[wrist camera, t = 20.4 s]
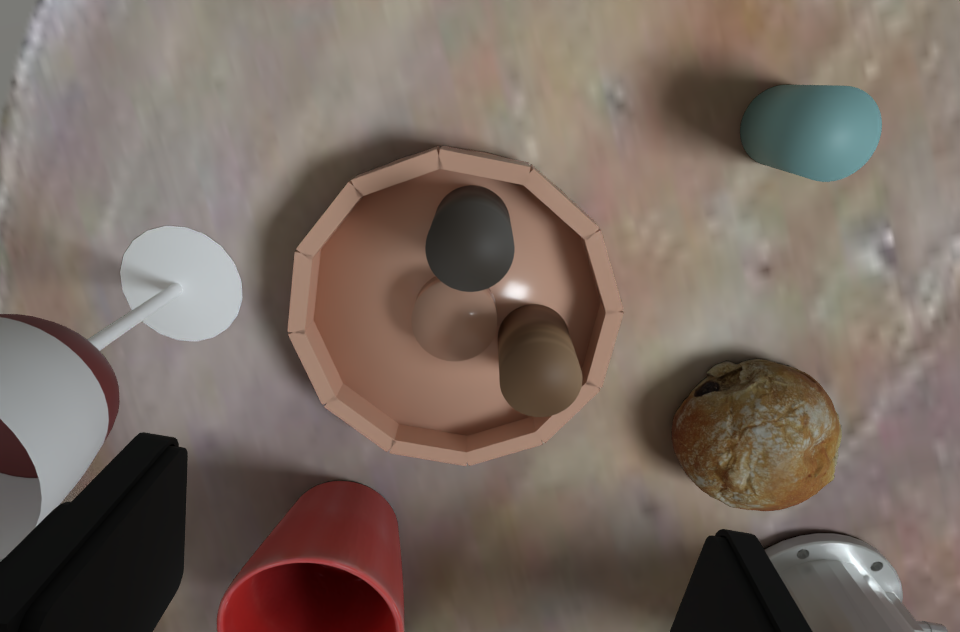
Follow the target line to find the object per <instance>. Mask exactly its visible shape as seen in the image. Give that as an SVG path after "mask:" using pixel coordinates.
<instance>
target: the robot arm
mask: <svg viewBox="0 0 960 632" xmlns="http://www.w3.org/2000/svg"><path fill="white" fill-rule="evenodd" d="M187 457H188V456H187V450H186V449H185V448H181V447H179V444H178V441H177V439H176V438H174V437H168V436H162V435H156V434H150V433H144V432H143V433H139V434H138V435H137V436H136V437H135V438H134V439H133V440H132V441H131V442H130V443H129V444H128V445H127V446H126V447H125V448H124V449H123V450H122V451H121V452H120V453H119V454H118V455H117V456H116V457H115V458H114V459H113V460H112V461H111V462H110V463H109V464H108V465H107V466H106V467H105V468H104V469H103V470H102V471H101V472H100V473H99V474H98V475H97V476H96V477H95V478H94V479H93V480H92V481H91V482H90V483H89V484H88V485H87V487H86V488H85V489H84V490H83V491H82V492H81V493H80V494H79V495H78V496H77V497H76V498H75V499H74V500H73V501H72V502H65V503H62V504H60V505H59V506H57V507H56V508H55V509H54V510H52V511H51V512H50V513H49V514H48V515H47V516H46V517H45V518H44V519H43V520H42V521H41V522H40V523H39V524H38V525H37V526H36V527H35V528H34V529H33V530H32V531H31V532H30V533H29V534H28V535H27V536H26V537H25V538H24V539H23V540H22V541H21V542H20V543H19V544H18V545H17V546H16V547H15V548H14V549H13V550H12V551H11V552H10V553H9V554H8V555H7V556H6V557H5V558H4V559H3V560H2V561H1V562H0V632H153V630H154V628H155V627H156V625H157V623H158V622H159V620H160V618H161V617H162V615H163V613H164V612H165V610H166V608H167V607H168V605H169V603H170V602H171V600H172V598H173V597H174V595H175V594H176V592H177V590H178V588H179V585H180V582H181V579H182V575H183V569H184V544H185V515H186V486H187ZM902 599H903V592H902V586H901V581H900V579H899V577H898V575H897V572H896V571H895V569H894V568H893V567H892V565H891V564H890V563H889V562H888V560H887V559H886V558H885V557H884V556H883V555H882V554H881V553H880V552H879V551H878V550H877V549H876V548H874V547H872V546H871V545H869V544H868V543H866V542H864V541H862V540H859V539H856V538H853V537H851V536H846V535H840V534H834V533H816V534H809V535H802V536H798V537H794V538H791V539H787V540H784V541H781V542H779V543H777V544H775V545H773V546H771V547H769V548H767V549H765V550H764V549H763V547H762V545H761V543H760V542H759V540H758V539H757V538H756V536H755V535H753V534H749V533H743V532H737V531H731V530H725V529H722V530H719V531H718V532H717V533H716V535H715V536H709V537H708V538H707V539H706V541H705V543H704V545H703V548H702V551H701V553H700V556H699V558H698V561H697V563H696V566H695V569H694V571H693V574H692V576H691V579H690V581H689V584H688V586H687V589H686V592H685V594H684V597H683V599H682V602H681V604H680V607H679V610H678V612H677V615H676V617H675V620H674V622H673V625H672V627H671V630H670V632H948V631H947V629H946V627H945V626H944V625H942V624H938V623H932V622H926V621H921V622H920V621H916V620H915V619H914V617H913V616H912V615H911V614H910V612H909V611H908V610H907V609H906V607H905V606H904V605H903V604H902Z"/></svg>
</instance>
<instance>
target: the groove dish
mask: <svg viewBox="0 0 960 632" xmlns="http://www.w3.org/2000/svg"><path fill="white" fill-rule="evenodd" d="M468 185H476V186H482V187H485V188H487V189H490V190H491V191H493V192H494V193H496V194H497V195H498V196H499V197H500V198H501V199H502V200H503V202H504V203H505V205H506V207H507V209H508V212H509V216H510V222H511V227H512V233H513V239H514V246H515V252H514V258H513V262H512V265H511V267H510V269H509V271H508V272H507V274H506V275H505V276H504V277H503V278H502V279H501V280H500V281H499V282H498V283H497V284H495V285H494V286H492V287H490V288H487V289H485V290H481V291H476V292H465V291H459V290H456V289H453V288H451V287H449V286H447V285H445V284H444V283H443V282H441V281H440V280H439V279H438V278H437V277H436V276H435V275H434V273H433V272H432V270H431V269H430V266H429V264H428V261H427V258H426V252H425V245H426V238H427V235H428V232H429V229H430V227H431V224H432V221H433V219H434V216H435V213H436V210H437V208H438V206H439V204H440V202H441V201H442V200H443V198H444V197H445V196H446V195H447V194H449V193H450V192H451V191H453V190H455V189H457V188H459V187H463V186H468ZM296 249H297V250H296V251H295V255H294V265H293V276H292V287H291V298H290V309H289V320H288V331H287V332H290V333H289V334H288V336H289V338H290V340H291V342H292V344H293V346H294V348H295V350H296V352H297V354H298V356H299V358H300V360H301V362H302V364H303V366H304V368H305V370H306V373H307V375H308V377H309V379H310V381H311V383H312V385H313V387H314V389H315V391H316V393H317V395H318V397H319V399H320V401H321V403H322V405H323V404H325V406H324V407H325V408H326V409H328V410H329V411H331V412H332V413H333V414H335V415H336V416H337V417H339V418H340V419H342V420H343V421H344V422H346V423H347V424H349V425H350V426H351V427H353V428H354V429H356V430H357V431H358V432H360V433H361V434H362V435H364V436H365V437H367V438H368V439H369V440H371V441H372V442H374V443H375V444H376V445H378V446H379V447H381V448H382V449H383V450H385V451H386V452H388V451H389V450H390V453H391V454H397V455H403V456H409V457H415V458H421V459H427V460H432V461H438V462H444V463H450V464H456V465H462V466H466V464H467V462H468V465H469V466H471V465H474V464H478V463H481V462H484V461H488V460H491V459H495V458H498V457H502V456H505V455H508V454H512V453H515V452H519V451H522V450H526V449H529V448H532V447H536V446H539V445H543V443H542V441H543V442H545V443H546V442H547V441H548V440H549V439H550V438H551V437H552V436H553V435H554V434H555V433H556V432H557V431H558V430H559V429H560V428H562V427H563V426H564V425H565V424H566V423H567V422H568V421H569V420H570V419H571V418H572V417H573V416H574V415H575V414H576V413H577V412H578V411H579V410H580V409H581V408H582V407H583V406H585V405H586V404H587V403H588V402H589V401H590V400H591V399H592V398H593V397H594V396H595V395H596V394H597V393H598V392H599V391H600V387H601V388H602V386H603V383H604V379H605V376H606V372H607V369H608V365H609V362H610V359H611V355H612V352H613V348H614V345H615V341H616V338H617V334H618V331H619V327H620V324H621V321H622V317H623V314H624V313H623V311H622V310H624V309H623V306H622V302H621V299H620V295H619V292H618V288H617V285H616V281H615V278H614V274H613V271H612V267H611V264H610V260H609V257H608V253H607V250H606V246H605V242H604V239H603V235H602V232H601V230H600V229H599V227H598V225H597V224H596V223H595V222H594V220H593V219H591V218H590V217H589V216H588V215H587V214H586V213H585V212H584V211H583V210H582V209H580V208H579V207H578V206H577V205H576V204H575V203H574V202H573V201H572V200H570V199H569V198H568V197H567V196H566V194H565V193H564V192H563V191H562V190H561V189H559V188H558V187H557V186H556V185H554V184H553V183H552V182H551V181H550V180H548V179H547V178H546V177H545V176H544V175H543V174H542V173H541V172H540V171H538V170H537V169H536V168H535V167H534V166H533V165H532V164H531V165H529V163H528V162H523V161H518V160H513V159H508V158H506V157H502V156H498V155H495V154H491V153H487V152H481V151H473V150H466V149H458V148H453V147H448V146H443V145H442V147H441V148H440V147H439V146H437V147H434V148H431V149H428V150H426V151H423V152H420V153H417V154H414V155H410V156H407V157H403V158H400V159H398V160H396V161H393V162H391V163H389V164H386V165H384V166H381V167H378V168H376V169H373V170H370V171H367V172H365V173H362V174H359V175H357V176H356V177H354V178H353V179H352V180H350V181H349V182H348V183H347V184H346V186H345V187H344V188H343V189H342V191H341V192H340V193H339V195H338V196H337V197H336V198H335V200H334V201H333V202H332V204H331V205H330V206H329V207H328V209H327V210H326V211H325V212H324V214H323V215H322V216H321V218H320V219H319V220H318V221H317V223H316V224H315V225H314V227H313V228H312V229H311V230H310V232H309V233H308V234H307V235H306V237H305V238H304V239H303V241H302V242H301V243H300V244H299V246H298V247H297V248H296ZM530 304H539V305H544V306H547V307H549V308H551V309H553V310H555V311H556V312H557V313H558V314H559V315H560V316H561V317H562V318H563V319H564V321H565V323H566V325H567V328H568V331H569V334H570V337H571V340H572V343H573V346H574V350H575V353H576V356H577V359H578V362H579V365H580V368H581V371H582V386H581V390H580V392H579V395H578V396H577V398H576V400H575V401H574V402H573V403H572V404H571V405H570V406H569V407H568V408H567V409H565V410H564V411H562V412H560V413H558V414H555V415H552V416H547V417H532V416H528V415H524V414H522V413H520V412H518V411H516V410H515V409H514V408H512V407H511V406H510V405H509V404H508V403H507V401H506V400H505V398H504V397H503V395H502V392H501V389H500V380H499V358H498V331H499V328H500V325H501V323H502V321H503V320H504V318H505V317H506V316H507V315H508V314H509V313H510V312H512V311H513V310H515V309H517V308H519V307H521V306H524V305H530Z"/></svg>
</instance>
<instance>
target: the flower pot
mask: <svg viewBox="0 0 960 632" xmlns="http://www.w3.org/2000/svg"><path fill="white" fill-rule="evenodd" d="M217 632H404V595H403V576H402V561H401V550H400V540H399V531H398V522H397V519H396V515H395V513H394V511H393V509H392V508H391V506H390V505H389V503H388V502H387V501H386V500H385V499H384V498H383V497H382V496H381V495H380V494H379V493H377V492H376V491H374V490H373V489H371V488H369V487H367V486H364V485H362V484H359V483H355V482H350V481H332V482H327V483H323V484H320V485H317V486H315V487H313V488H311V489H310V490H308V491H307V492H306V493H304V494H303V495H302V496H301V497H300V498H299V499H298V500H297V502H296V503H295V504H294V505H293V506H292V508H291V509H290V510H289V511H288V513H287V514H286V515H285V516H284V517H283V519H282V520H281V521H280V522H279V524H278V525H277V526H276V527H275V528H274V530H273V531H272V532H271V533H270V534H269V536H268V537H267V538H266V539H265V541H264V542H263V543H262V544H261V546H260V547H259V548H258V549H257V551H256V552H255V553H254V554H253V555H252V557H251V558H250V559H249V560H248V562H247V563H246V564H245V565H244V567H243V568H242V569H241V571H240V572H239V573H238V575H237V576H236V577H235V579H234V580H233V581H232V583H231V584H230V586H229V587H228V589H227V590H226V592H225V594H224V596H223V598H222V600H221V602H220V606H219V609H218V614H217Z"/></svg>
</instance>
